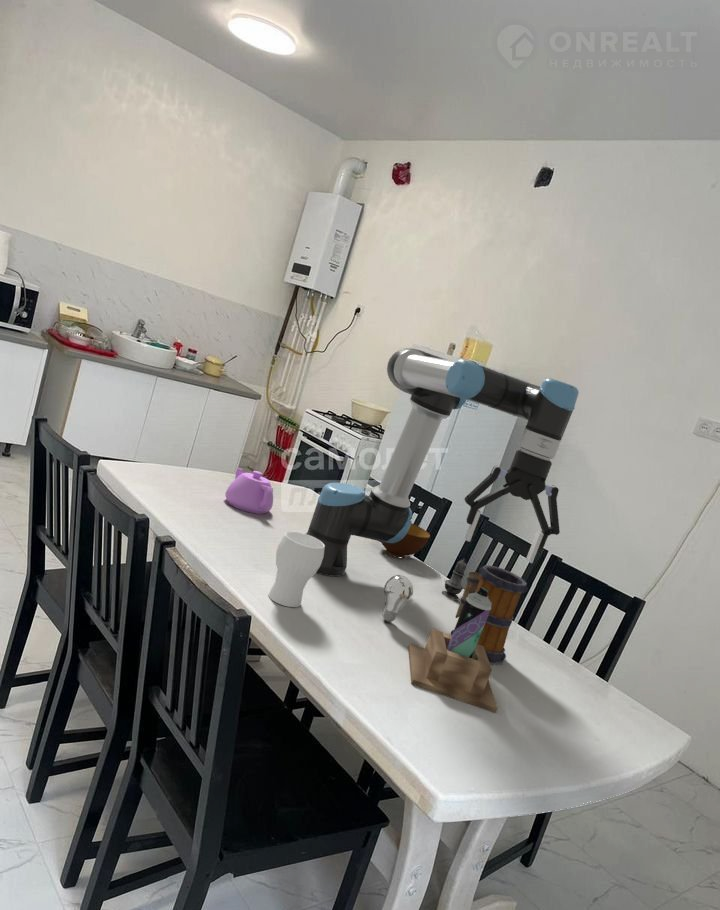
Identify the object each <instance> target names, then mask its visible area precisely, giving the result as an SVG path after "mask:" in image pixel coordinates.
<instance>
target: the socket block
mask: <svg viewBox="0 0 720 910" xmlns="http://www.w3.org/2000/svg"><path fill="white" fill-rule="evenodd" d="M451 637H452V635H451V633H450V634H449V633H447V632H443V631H442V630H441V631H440V630H439V629H435V628H431V630H430V633H429V636H428V639H427V641H426V643H425V647H423V646H420V645H417V644H413V643H411V642H410V643H409V644H408V648H407V651H408V660H409V671H410V683H411V685H412V686H416V687H419V688H423V689H424V690H429V691H432V692H433V693H437V694H440V695H442V696H446V697H448V698H452V699H455V700H457V701H461V702H463V703H467V704H470V705H472V706H476V707H478V708H481V709H484V710H487V711H490V712H493V713H494V714H495V713H497V712H498V709H499V707H498V705H497V702H496V699H495V698H496V697H495V696H494V693H493V689H492V687H491V683H490V679H489V678H490V676H491V674H492V671H493V669H492V665H490V663H489V660H488V658H487V655H486V652H485V649H484V646H482V645H479V644H477V646H476V648H475V651H474V654H473V656H472V659H471V658H469V657H466V656H463V655H460V654H457V653H454V652H451V651H448V650H447V647H448V645H449V642H450V639H451Z"/></svg>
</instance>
